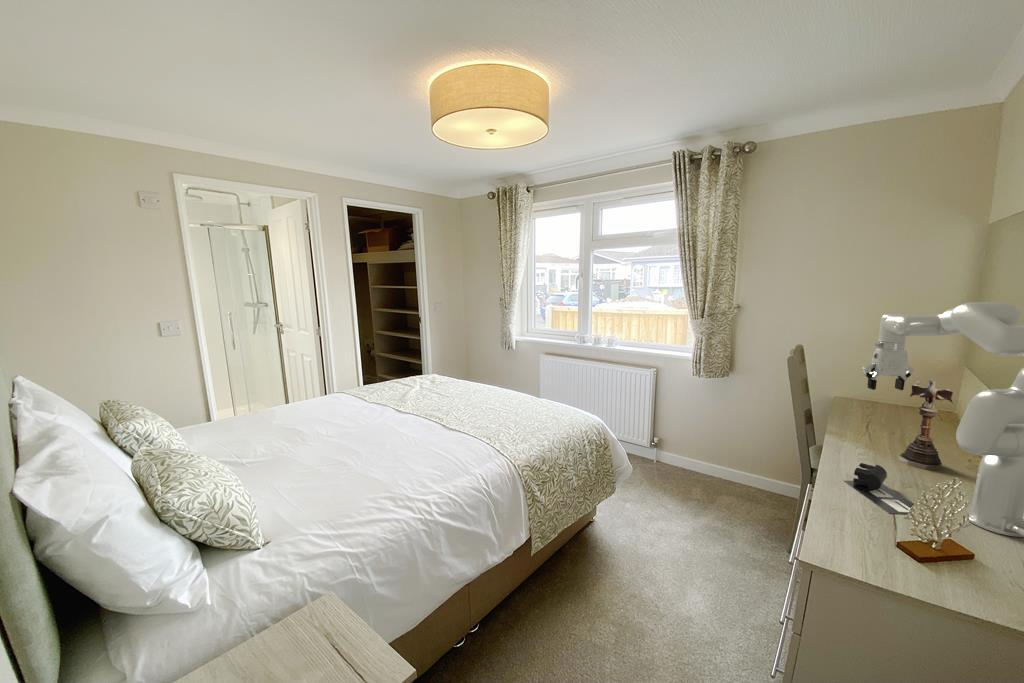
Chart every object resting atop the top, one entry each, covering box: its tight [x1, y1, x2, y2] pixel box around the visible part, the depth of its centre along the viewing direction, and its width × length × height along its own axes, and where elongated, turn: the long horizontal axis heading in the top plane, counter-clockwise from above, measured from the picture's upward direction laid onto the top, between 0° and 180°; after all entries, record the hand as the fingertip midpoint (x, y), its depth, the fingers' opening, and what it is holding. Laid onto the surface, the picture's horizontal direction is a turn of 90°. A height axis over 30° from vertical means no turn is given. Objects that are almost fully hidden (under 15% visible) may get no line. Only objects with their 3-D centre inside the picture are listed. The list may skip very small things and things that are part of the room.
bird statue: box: [898, 378, 954, 471], centre depth 153 cm, size 17×13×35 cm
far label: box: [869, 488, 894, 498], centre depth 136 cm, size 10×5×1 cm, turn 174°
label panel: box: [843, 480, 915, 515], centre depth 131 cm, size 20×12×1 cm, turn 174°
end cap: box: [852, 462, 888, 491], centre depth 137 cm, size 10×7×7 cm
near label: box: [881, 499, 911, 512], centre depth 126 cm, size 7×5×1 cm
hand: (885, 389), depth 152 cm, fingers open, 9 cm apart
